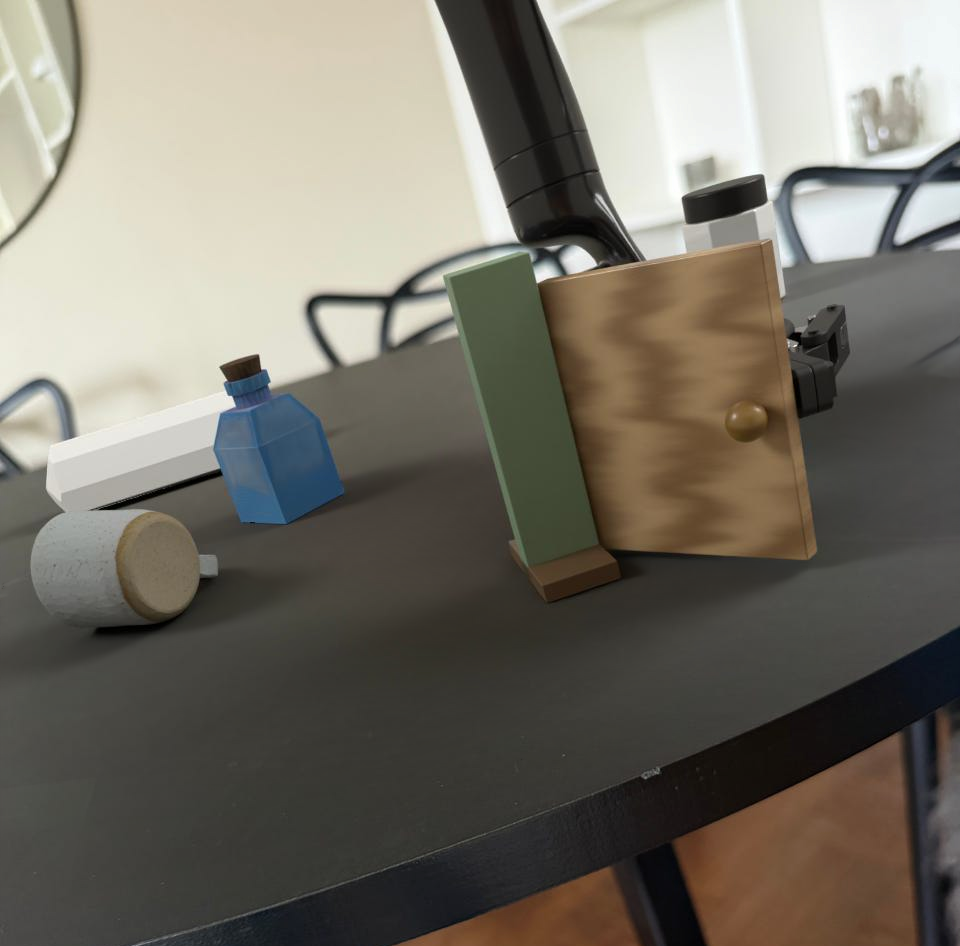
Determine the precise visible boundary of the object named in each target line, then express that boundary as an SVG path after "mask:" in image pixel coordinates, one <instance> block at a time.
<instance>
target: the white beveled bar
mask: <svg viewBox="0 0 960 946" xmlns="http://www.w3.org/2000/svg"><path fill="white" fill-rule="evenodd" d="M234 407H236V405H235V403H234V400H233V397H232V396H228V395H227V392H226V390H223V391H219V392H216V393H213V394H210V395H206V396H203V397H201V398H198V399H194V400H191V401H188V402H185V403H182V404H178V405H175V406H171V407H168V408H165V409H162V410H158V411H155V412H152V413H150V414H146V415H143V416H140V417H136V418H133V419H130V420H127V421H124V422H120V423H117V424H114V425H112V426H107V427H105V428H102V429H99V430H95V431H91V432H89V433H86V434H85V433H84V434H82V435H79V436H77V437H73V438H69V439H66V440H63V441H60V442H57V443H54V444H50V447H49V451H48V455H47V464H46V481H45V483H46V484H45V490H46V492H47V494H48V495H49V496H50V498H51V499H52V500H53V501H54V502H55V504H56V505H57V506H59V508H60V509H62V510H63V512H64V513H65V512H69V511H91V510H94V509H98V508H101V507H104V506H108V505H111V504H114V503H118V502H121V501H124V500H127V499H130V498H134V497H137V496H140V495H143V494H147V493H150V492H153V491H156V490H160V489H163V488H167V487H170V486H173V487H175V486H174V485H177V484H180V483H183V484H185V483H184V482H186V483H188V482H187V481H189V482H191V481H190V480H192V481H195V480H198V479H197V478H199V479H201V478H200V477H202V478H205V477H208V476H210V474H211V475H214V474H217V473H220V471H221V469H220V466H219V463H218V461H217V458H216V456H215V453H214V451H213V447H214V442H215V437H216V432H217V427H218V422H219V417H220V413H222V412H224V411H227V410H229V409H231V408H234ZM221 472H222V471H221ZM207 475H208V476H207ZM204 476H205V477H204ZM194 479H195V480H194ZM180 485H181V484H180ZM177 486H178V485H177ZM170 488H171V487H170ZM167 489H168V488H167Z"/></svg>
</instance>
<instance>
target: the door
mask: <svg viewBox="0 0 960 946" xmlns="http://www.w3.org/2000/svg"><path fill="white" fill-rule="evenodd" d="M646 260H647V259H646ZM580 272H581V273H579V272H576V273H571V274H570V273H569V274H565V275H559V276H555V277H554V276H553V277H548V278H546V279H544V280H541V281H538V282H537V286H538V290H539V294H540V298H541V302H542V307H543V311H544V315H545V319H546V323H547V327H548V332H549V336H550V340H551V344H552V348H553V353H554V357H555V361H556V365H557V369H558V374H559V378H560V382H561V386H562V390H563V394H564V399H565V403H566V407H567V411H568V415H569V420H570V424H571V428H572V432H573V436H574V440H575V445H576V449H577V453H578V457H579V461H580V466H581V470H582V474H583V478H584V482H585V486H586V491H587V495H588V499H589V503H590V507H591V512H592V516H593V520H594V524H595V528H596V533H597V537H598V541H599V544H600V545H601V546H602V547H603V548H604V549H605V550H614V551H615V550H616V551H631V552H647V553H648V552H650V553H664V554H665V553H666V554H667V553H668V554H684V555H704V556H718V557H719V556H720V557H734V558H735V557H737V558H753V559H773V560H789V561H809V560H810V559H812V558H813V556H815V555H816V554H817V553H818V547H817V540H816V534H815V527H814V520H813V511H812V506H811V499H810V498H811V497H810V492H809V483H808V478H807V470H806V465H805V457H804V450H803V443H802V437H801V436H802V435H801V430H800V421H799V418H798V415H797V408H796V401H795V394H794V387H793V380H792V373H791V366H790V359H789V352H788V345H787V338H786V332H785V325H784V318H785V317H784V312H783V305H782V298H781V297H780V290H779V283H778V276H777V269H776V262H775V255H774V249H773V242H772V239H771V238H767V239H762V240H757V241H751V242H746V243H740V244H735V245H729V246H724V247H718V248H713V249H707V250H702V251H696V252H691V253H685V252H684V253H680V254H674V255H669V256H664V257H658V258H654V259H653V258H652V259H648V260H647V261H641V262H636V263H630V264H625V265H619V266H614V267H608V268H603V269H597V270H592V271H586V272H582V271H580Z"/></svg>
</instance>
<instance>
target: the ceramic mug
mask: <svg viewBox="0 0 960 946" xmlns="http://www.w3.org/2000/svg"><path fill="white" fill-rule="evenodd" d="M43 525H44V526H43V527H41V528H40V530H39V532H38V534H37V536H36V537H35V540H34V542H33V545H32V549H31V556H30V563H29V565H30V576H31V581H32V584H33V588H34V590H35V593H36V595H37V596H36V597H38V600H40V602H41V604H42V605H43V607H44V608H45V610H46V611H47V612H48V613H49V614H50V615H51V616H53V617H54V618H55V620H58V621H59V622H60V623H63V624H64V625H66V626H70V627H74V628H79V629H90V628H110V627H111V628H112V627H114V628H115V627H125V626H145V625H147V626H148V625H156V624H159V623H163V622H167V621H169V620H172V619H174V618H175V617H177V616H179V615H180V614H182V613H183V612H184V611H185V610H186V609H187V608H188V607H189V605H190V604H191V603H192V601H193V599H194V598H195V595H196V593H197V591H198V588H199V583H200V579H207V578H209V579H210V578H211V579H214V578H217V577H218V575H219V563H218V558H217V555H215V554H199V551H198V549H197V545H196V543H195V541H194V538H193V537H192V535H191V533H190V532H189V530H188V529H187V527H185V526H184V524H183V523H182V522H180V520H179V519H176V517H173V516H171V515H169V514H167V513H164V512H160V511H155V510H149V509H144V508H143V509H141V508H133V509H131V508H130V509H110V510H109V509H108V510H107V509H101V510H93V511H69V512H65V511H64V512H62V513H59V514H58V515H55V516H54V517H53V518H51V519H50V520H49V521H47V522H46V524H43Z"/></svg>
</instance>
